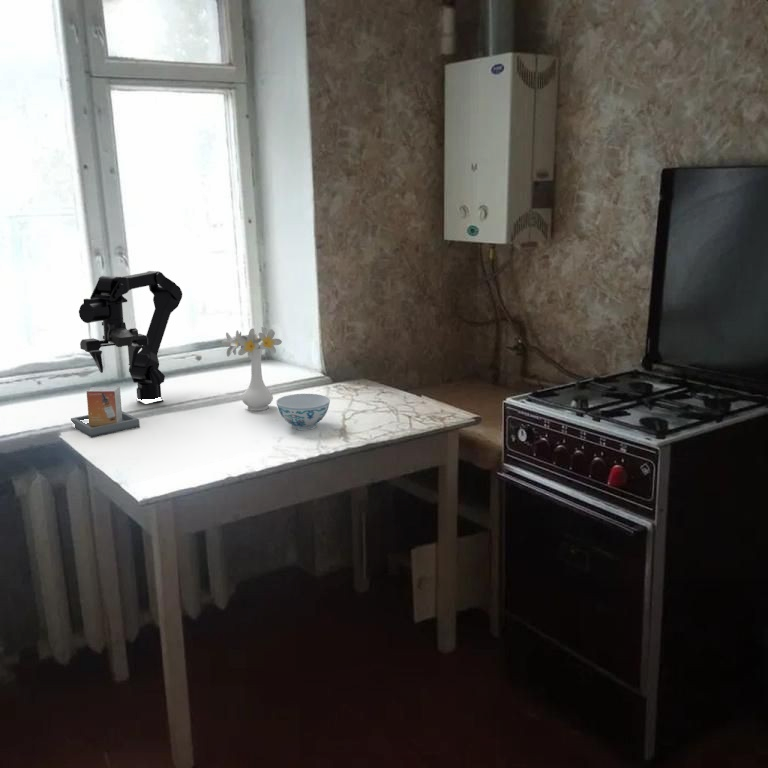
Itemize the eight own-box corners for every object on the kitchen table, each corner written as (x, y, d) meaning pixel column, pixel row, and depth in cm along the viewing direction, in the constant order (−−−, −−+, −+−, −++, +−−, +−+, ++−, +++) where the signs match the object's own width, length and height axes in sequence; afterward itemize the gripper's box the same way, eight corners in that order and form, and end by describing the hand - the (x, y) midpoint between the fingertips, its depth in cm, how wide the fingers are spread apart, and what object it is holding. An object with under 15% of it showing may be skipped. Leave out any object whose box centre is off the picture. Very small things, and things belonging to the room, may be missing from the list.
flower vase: (234, 401, 255) (230, 323, 249) (290, 404, 252) (287, 325, 246) (219, 413, 243) (214, 331, 237) (277, 416, 240) (274, 333, 233)
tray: (118, 417, 239) (117, 409, 239) (139, 427, 229) (138, 419, 229) (71, 426, 230) (70, 418, 230) (91, 437, 220) (90, 429, 220)
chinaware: (303, 416, 240) (303, 390, 238) (341, 425, 230) (340, 399, 228) (266, 427, 228) (265, 401, 226) (304, 438, 219) (303, 410, 217)
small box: (89, 427, 227) (85, 391, 224) (95, 421, 232) (91, 386, 230) (117, 427, 227) (114, 390, 224) (123, 421, 232) (120, 385, 230)
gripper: (92, 324, 226) (96, 379, 229) (154, 318, 238) (157, 370, 241) (77, 320, 234) (81, 373, 238) (138, 315, 246) (142, 365, 250)
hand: (116, 370), depth 241 cm, fingers open, 9 cm apart
